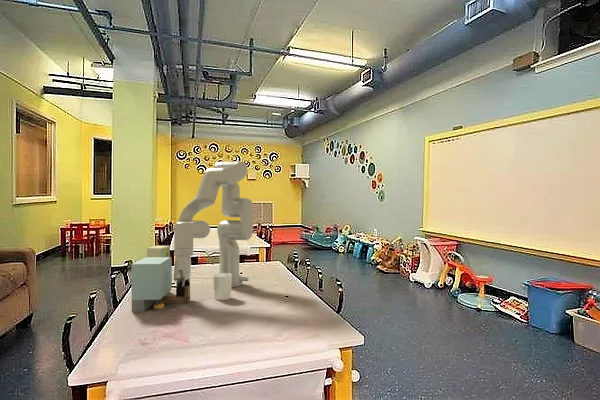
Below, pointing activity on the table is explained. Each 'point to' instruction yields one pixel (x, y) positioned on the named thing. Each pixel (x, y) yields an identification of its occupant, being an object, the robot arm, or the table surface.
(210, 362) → the table surface
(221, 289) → the white cup
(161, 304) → the orange round disc
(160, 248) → the toy refrigerator
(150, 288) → the cabinet
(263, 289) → the table surface
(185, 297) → the brown boxy piece
